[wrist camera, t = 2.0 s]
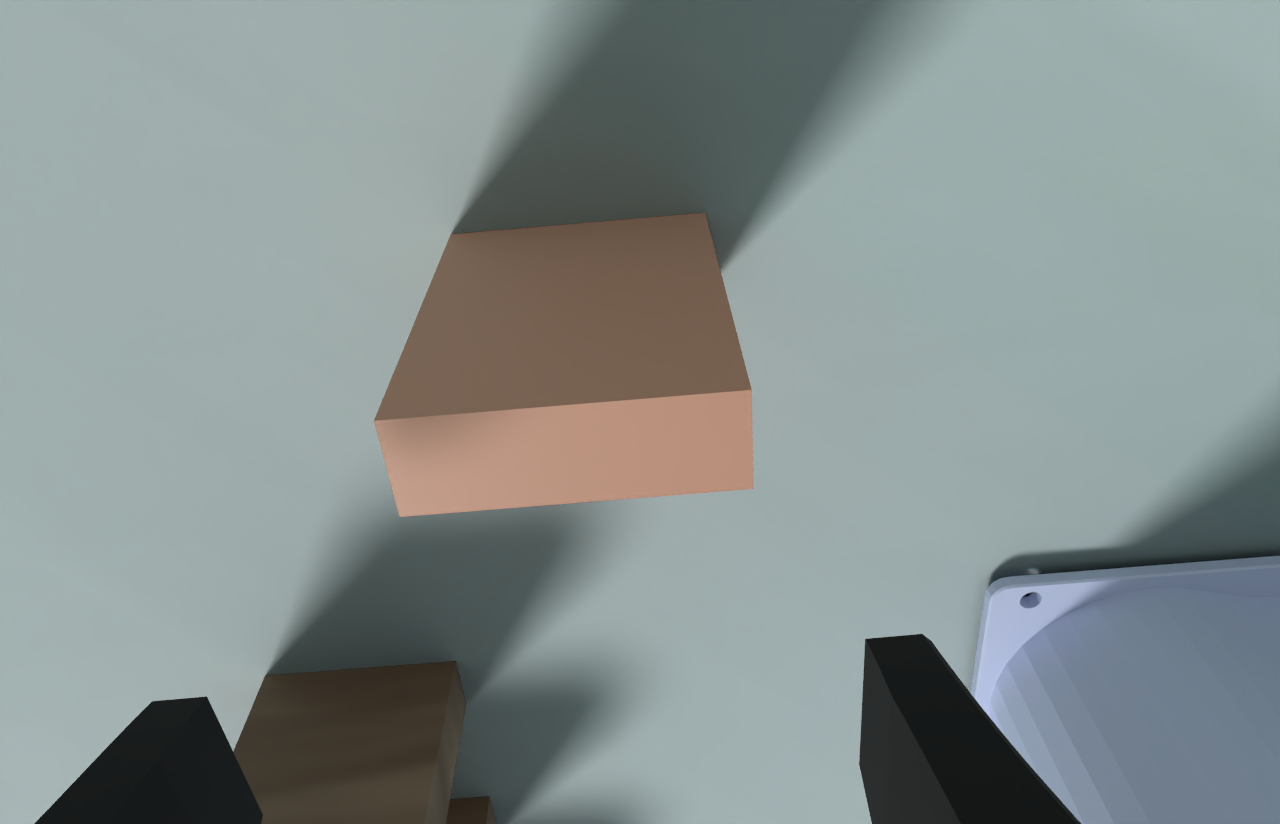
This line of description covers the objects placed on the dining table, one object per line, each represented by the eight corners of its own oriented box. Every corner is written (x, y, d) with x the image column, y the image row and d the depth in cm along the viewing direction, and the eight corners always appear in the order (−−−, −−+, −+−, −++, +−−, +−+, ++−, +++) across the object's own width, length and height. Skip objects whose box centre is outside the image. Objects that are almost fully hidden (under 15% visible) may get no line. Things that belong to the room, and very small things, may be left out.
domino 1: (265, 675, 24) (152, 944, 18) (455, 661, 24) (404, 926, 18) (281, 717, 25) (180, 988, 19) (465, 704, 25) (420, 971, 19)
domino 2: (450, 234, 18) (373, 421, 12) (705, 212, 18) (751, 389, 12) (465, 308, 19) (399, 517, 13) (708, 288, 19) (753, 488, 13)
